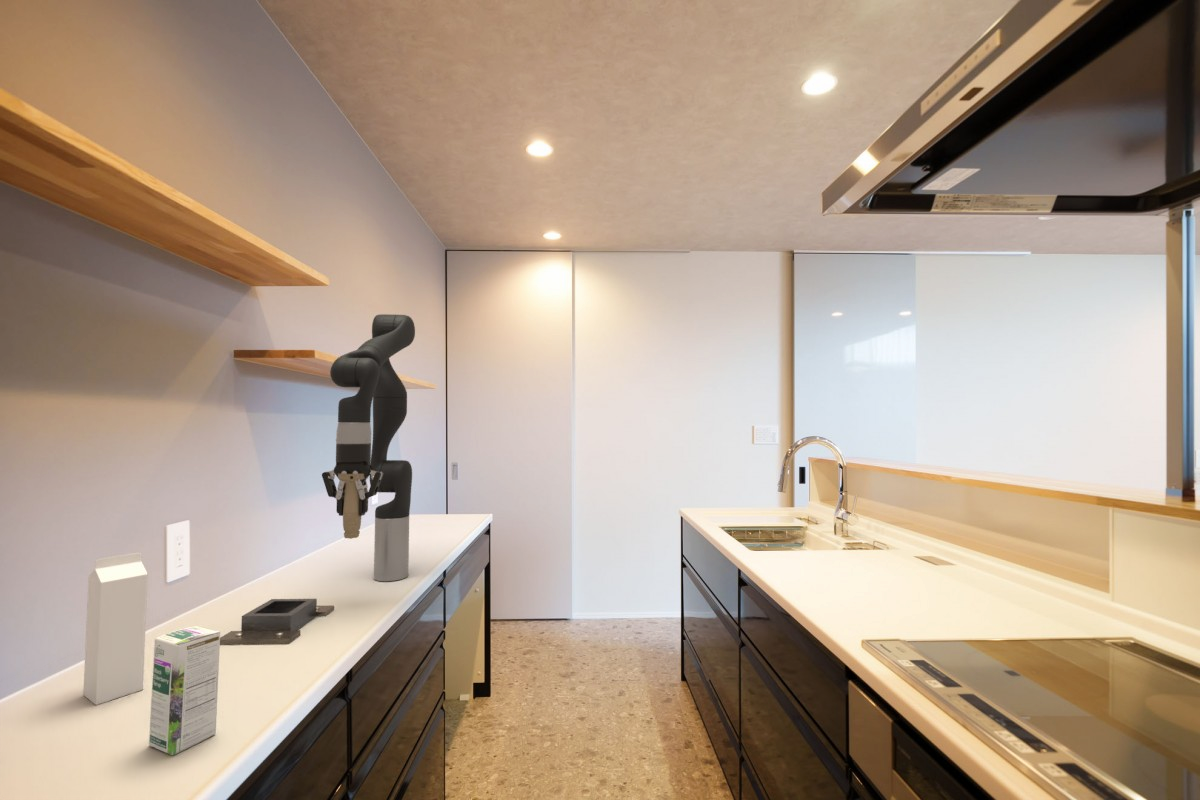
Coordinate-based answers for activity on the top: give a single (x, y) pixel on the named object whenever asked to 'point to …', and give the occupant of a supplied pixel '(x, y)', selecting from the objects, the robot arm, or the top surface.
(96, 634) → the milk
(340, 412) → the robot arm
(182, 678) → the syrup box
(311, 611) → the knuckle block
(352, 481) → the handle
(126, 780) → the top surface
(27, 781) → the top surface
